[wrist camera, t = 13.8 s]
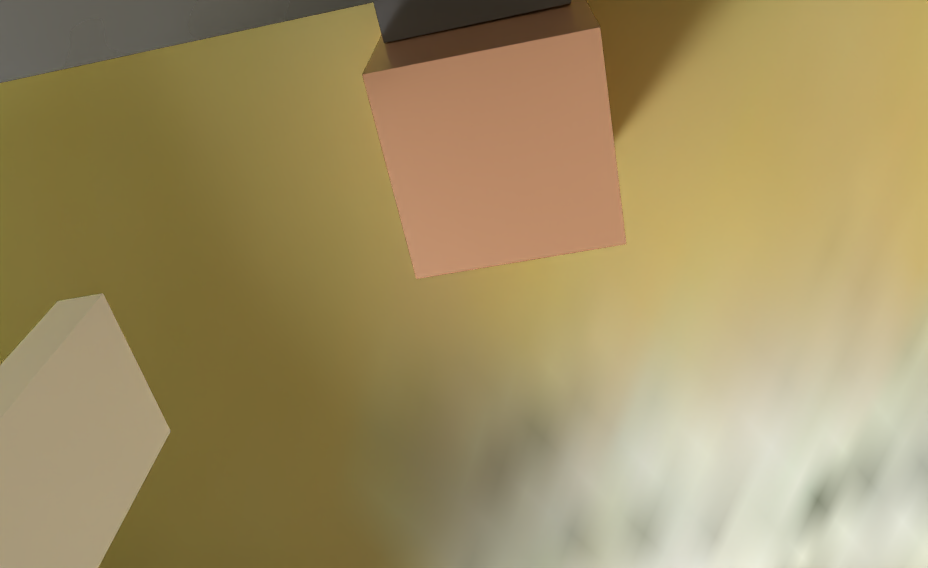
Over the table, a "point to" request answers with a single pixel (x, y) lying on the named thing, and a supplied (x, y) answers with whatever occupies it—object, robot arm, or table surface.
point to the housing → (127, 27)
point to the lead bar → (446, 14)
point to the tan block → (499, 140)
